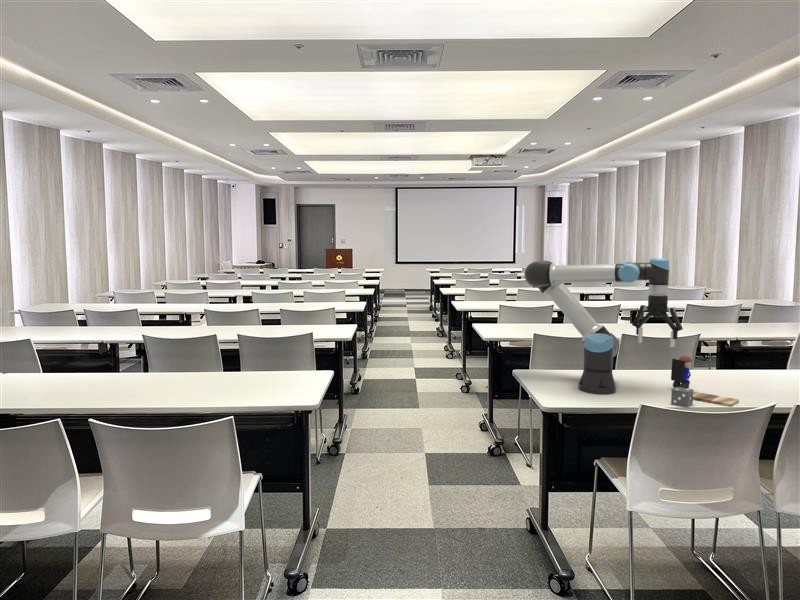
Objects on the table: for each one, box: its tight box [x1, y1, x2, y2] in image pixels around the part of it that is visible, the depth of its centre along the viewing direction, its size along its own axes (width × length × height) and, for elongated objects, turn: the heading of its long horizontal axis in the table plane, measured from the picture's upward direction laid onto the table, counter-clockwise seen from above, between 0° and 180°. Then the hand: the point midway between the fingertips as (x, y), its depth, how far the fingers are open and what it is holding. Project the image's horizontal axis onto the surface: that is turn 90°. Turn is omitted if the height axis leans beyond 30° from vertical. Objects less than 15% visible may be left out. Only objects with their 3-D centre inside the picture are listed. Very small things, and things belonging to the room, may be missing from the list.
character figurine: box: [670, 355, 693, 389], centre depth 247 cm, size 8×7×15 cm
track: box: [693, 390, 740, 408], centre depth 234 cm, size 21×10×1 cm, turn 44°
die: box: [670, 387, 694, 408], centre depth 226 cm, size 6×6×6 cm
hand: (655, 344), depth 247 cm, fingers open, 13 cm apart
